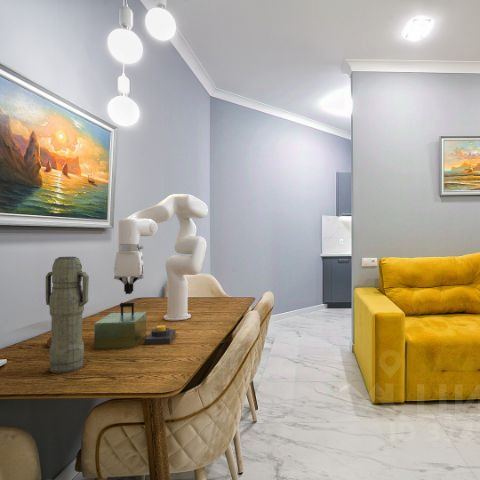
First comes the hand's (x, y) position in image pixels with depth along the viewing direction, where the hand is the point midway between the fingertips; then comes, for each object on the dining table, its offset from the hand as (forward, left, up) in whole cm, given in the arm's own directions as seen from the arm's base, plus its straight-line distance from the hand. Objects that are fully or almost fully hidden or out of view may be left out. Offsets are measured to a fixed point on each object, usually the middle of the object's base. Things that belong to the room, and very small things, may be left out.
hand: (128, 293), depth 143 cm
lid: (+6, -1, -9) cm, 11 cm away
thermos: (+31, -9, -18) cm, 37 cm away
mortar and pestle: (+6, -23, -18) cm, 30 cm away
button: (+5, +13, -14) cm, 20 cm away
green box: (+6, -1, -18) cm, 19 cm away
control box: (+5, +13, -18) cm, 23 cm away
